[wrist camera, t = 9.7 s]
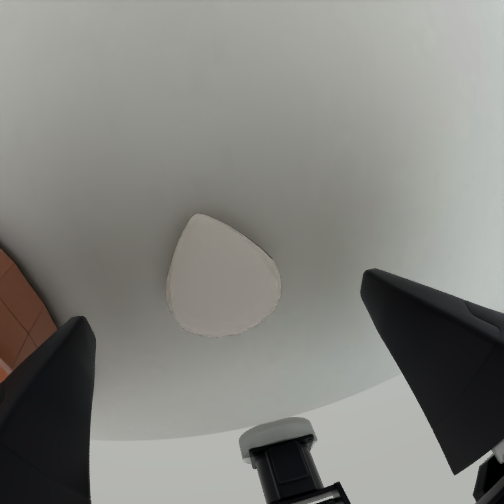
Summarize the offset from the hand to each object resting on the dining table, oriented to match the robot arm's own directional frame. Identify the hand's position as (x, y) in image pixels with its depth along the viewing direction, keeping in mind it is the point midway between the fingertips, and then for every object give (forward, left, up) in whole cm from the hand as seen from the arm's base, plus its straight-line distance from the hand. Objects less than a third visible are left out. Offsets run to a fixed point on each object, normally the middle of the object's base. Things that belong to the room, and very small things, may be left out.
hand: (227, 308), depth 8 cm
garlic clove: (0, 0, -4) cm, 4 cm away
